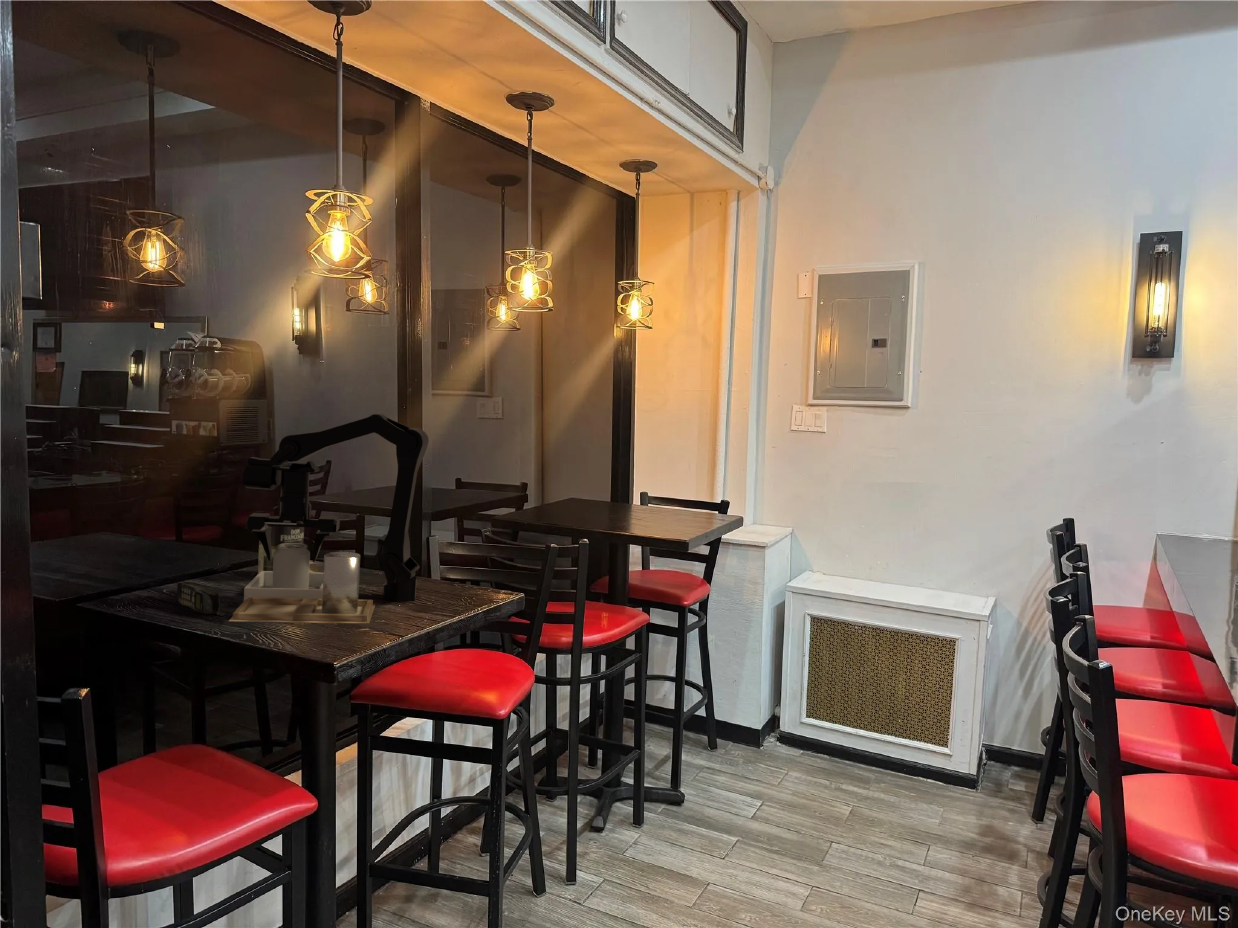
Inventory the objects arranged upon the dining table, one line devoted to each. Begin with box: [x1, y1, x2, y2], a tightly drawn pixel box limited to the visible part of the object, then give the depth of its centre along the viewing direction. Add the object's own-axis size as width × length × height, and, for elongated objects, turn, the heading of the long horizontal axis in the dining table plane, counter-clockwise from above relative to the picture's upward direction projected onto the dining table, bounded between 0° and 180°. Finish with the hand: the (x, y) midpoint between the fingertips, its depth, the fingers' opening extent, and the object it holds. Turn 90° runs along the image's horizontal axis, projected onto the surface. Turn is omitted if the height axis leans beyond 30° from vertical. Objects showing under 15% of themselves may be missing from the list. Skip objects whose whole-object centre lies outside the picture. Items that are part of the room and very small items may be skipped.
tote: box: [243, 571, 323, 602], centre depth 179 cm, size 16×16×4 cm
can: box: [271, 543, 311, 589], centre depth 179 cm, size 8×8×12 cm
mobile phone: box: [176, 581, 225, 617], centre depth 166 cm, size 5×3×15 cm
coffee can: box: [257, 515, 305, 575], centre depth 197 cm, size 10×10×14 cm
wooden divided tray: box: [228, 597, 376, 624], centre depth 165 cm, size 26×14×3 cm, turn 102°
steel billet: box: [322, 551, 361, 614], centre depth 166 cm, size 7×7×12 cm
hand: (292, 561), depth 179 cm, fingers open, 9 cm apart
